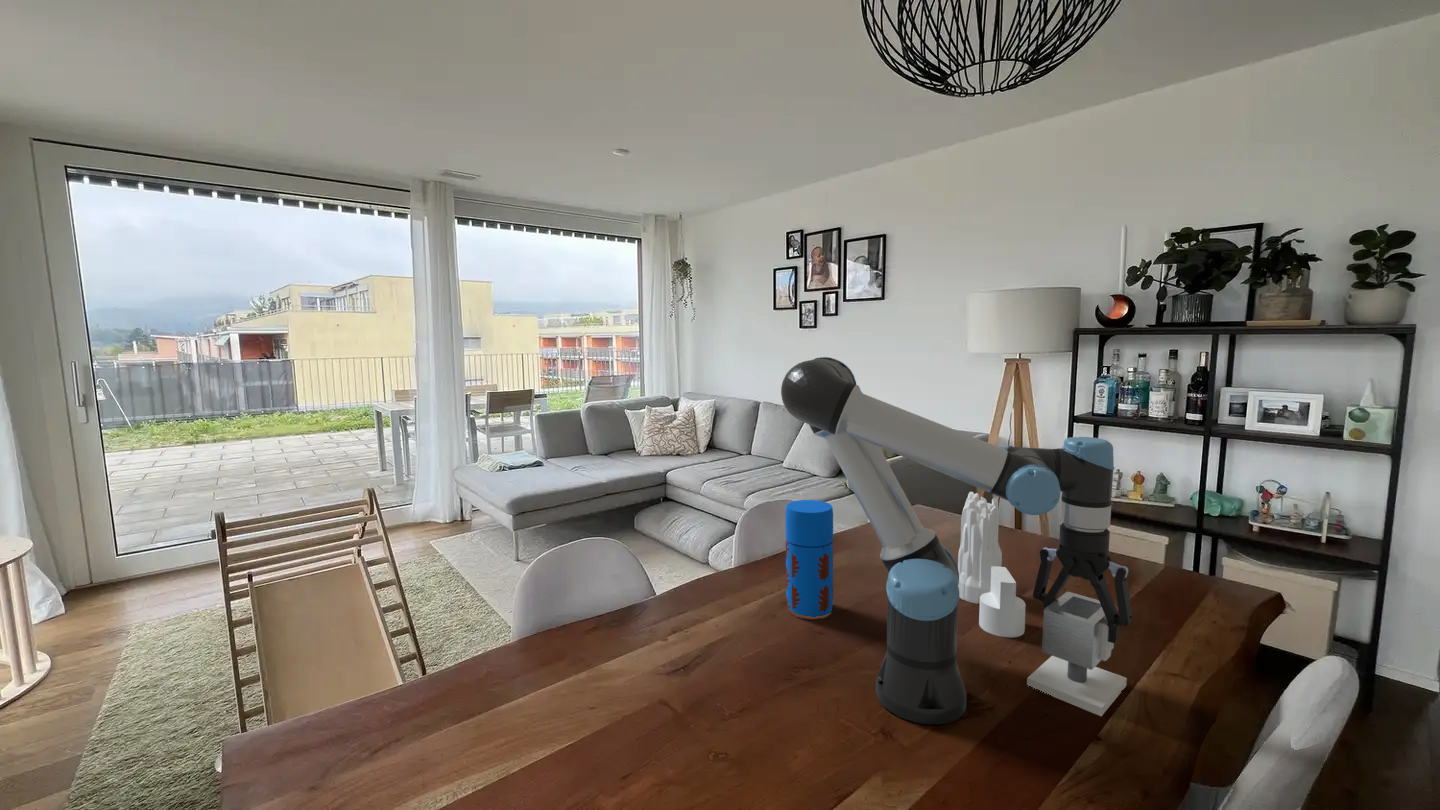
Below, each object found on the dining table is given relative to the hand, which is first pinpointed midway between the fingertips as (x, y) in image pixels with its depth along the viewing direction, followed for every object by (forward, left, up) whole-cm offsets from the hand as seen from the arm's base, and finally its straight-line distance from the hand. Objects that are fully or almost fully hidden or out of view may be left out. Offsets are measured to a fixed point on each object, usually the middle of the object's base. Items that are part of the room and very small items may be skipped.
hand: (1078, 648), depth 108 cm
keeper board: (0, 0, -7) cm, 7 cm away
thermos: (-12, +53, -7) cm, 55 cm away
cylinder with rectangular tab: (+12, +19, -8) cm, 24 cm away
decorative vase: (+24, +30, -7) cm, 39 cm away
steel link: (0, 0, 0) cm, 0 cm away
